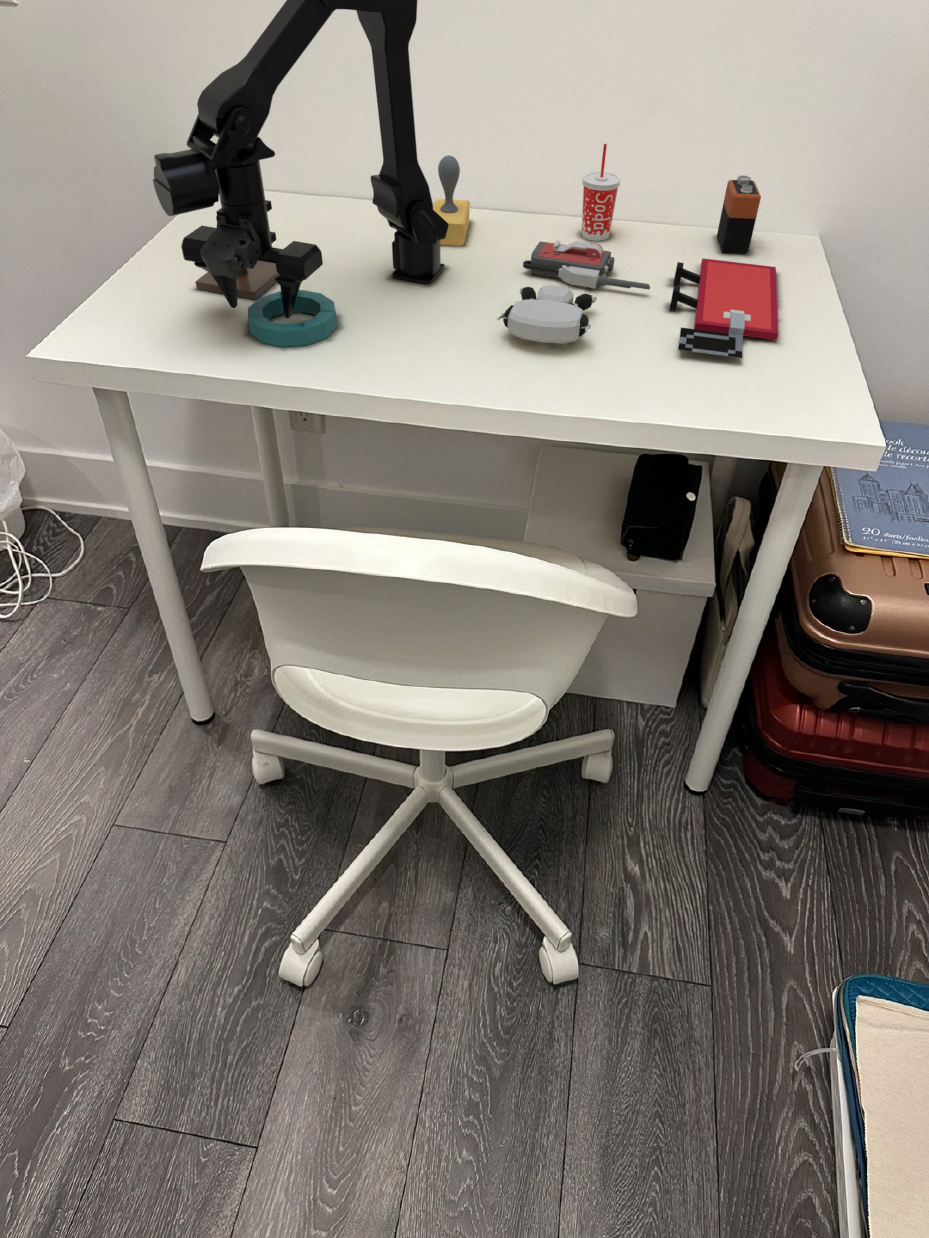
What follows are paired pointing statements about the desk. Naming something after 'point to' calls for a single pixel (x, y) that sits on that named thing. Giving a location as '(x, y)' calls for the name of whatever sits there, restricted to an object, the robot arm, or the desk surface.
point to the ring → (292, 332)
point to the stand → (245, 281)
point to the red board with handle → (728, 306)
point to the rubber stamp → (452, 203)
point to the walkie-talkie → (576, 264)
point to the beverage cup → (599, 202)
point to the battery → (738, 215)
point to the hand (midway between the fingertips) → (261, 312)
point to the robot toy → (548, 315)
